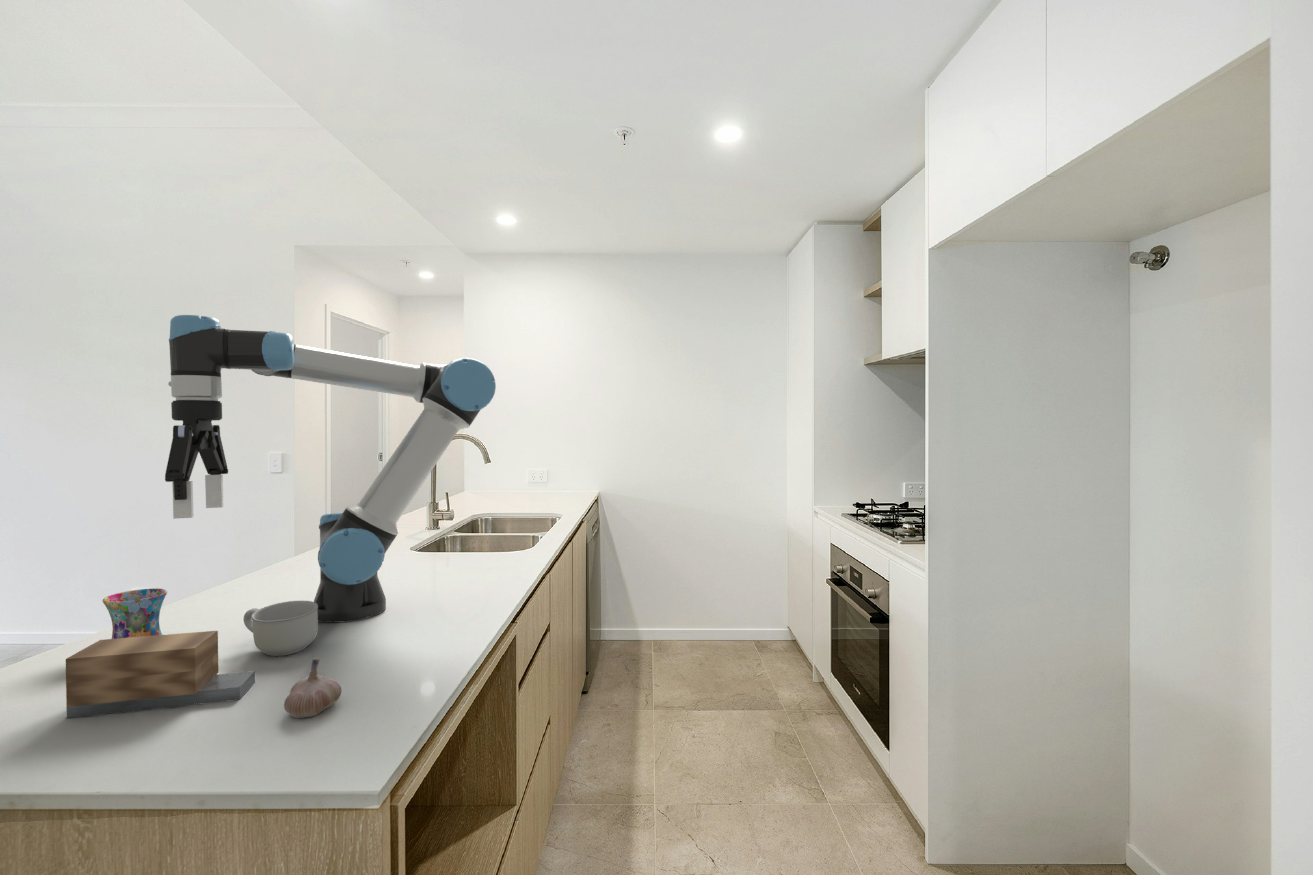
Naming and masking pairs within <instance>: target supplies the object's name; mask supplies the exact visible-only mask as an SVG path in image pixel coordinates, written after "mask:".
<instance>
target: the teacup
mask: <svg viewBox="0 0 1313 875" xmlns="http://www.w3.org/2000/svg"><path fill="white" fill-rule="evenodd" d="M317 609H318V605H317V603H315V602H314V601H312V600H289V601H284V602H277V603H274V604H270V605H267V606H264V607H262V608H258V607H257V608H256V607H255V608H253V607H252V608H251V609H249V610H247V611H246V612H245V613H244V615H243V623H244V626H245V628H246V629H247V630H248V631H249V632H250V633H252V636H253V642H254V646H255V647H256V649H257V650H259V651H260V652H262V653H264V654H266V655H268V656H272V657H282V656H287V655H292V654H295V653H298V652H301V651H303V650H305V649H306V648H307V646H309V645H310V644H311V643H312V642H313V641H314V640H315V638H316V636H317V634H318V628H319V625H318V624H319V623H318V622H319V621H318V612H317Z"/></svg>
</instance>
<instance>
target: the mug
mask: <svg viewBox="0 0 1313 875" xmlns="http://www.w3.org/2000/svg"><path fill="white" fill-rule="evenodd" d="M167 595H168V590H167V589H165V588H158V587H157V588H156V587H155V588H139V589H134V590H133V589H132V590H127V591H123V592H117V593H114V594H111V595H108V596H106V597H104V598H103V599H102V603H103V605H104V606H105V607H106V610H107V611H108V615H109V616H110V619H111V625H112V631H111V632H112V633H111V638H110V639H118V638H130V637H143V636H156V635H163V633H162V630H161V627H160V626H161V625H160V613H161V610H162V606H163V604H164V603H163V602H164V600H165V598H166V596H167Z"/></svg>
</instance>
